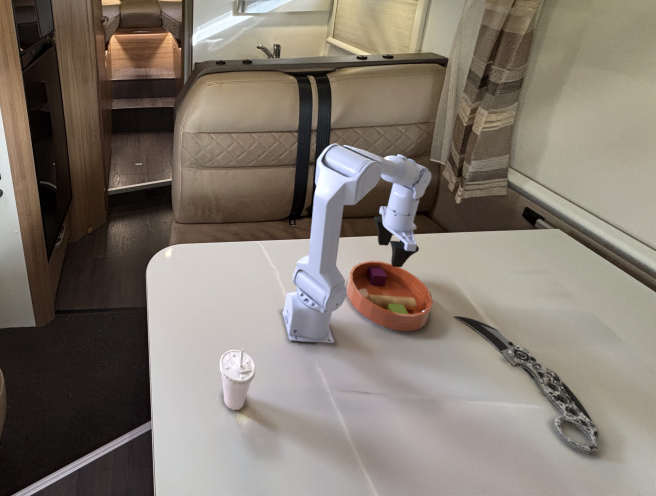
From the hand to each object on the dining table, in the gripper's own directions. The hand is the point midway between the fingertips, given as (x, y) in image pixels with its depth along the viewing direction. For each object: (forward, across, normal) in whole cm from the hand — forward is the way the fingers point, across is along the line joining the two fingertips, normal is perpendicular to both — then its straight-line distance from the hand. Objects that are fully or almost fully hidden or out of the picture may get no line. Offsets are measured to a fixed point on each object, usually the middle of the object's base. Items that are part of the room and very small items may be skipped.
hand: (389, 254), depth 104 cm
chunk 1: (+9, 0, +2) cm, 9 cm away
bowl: (+10, -6, +2) cm, 11 cm away
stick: (+8, -6, +1) cm, 10 cm away
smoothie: (+10, -33, +40) cm, 53 cm away
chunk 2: (+9, -12, +2) cm, 15 cm away
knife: (+10, -23, -18) cm, 31 cm away
